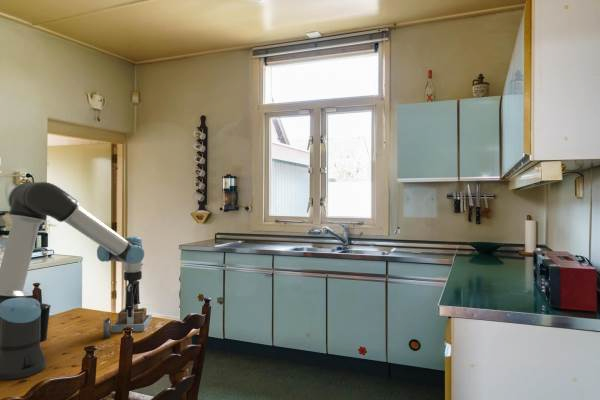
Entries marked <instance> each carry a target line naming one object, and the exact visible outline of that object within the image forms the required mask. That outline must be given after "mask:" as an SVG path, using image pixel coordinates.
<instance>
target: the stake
mask: <svg viewBox="0 0 600 400" xmlns="http://www.w3.org/2000/svg"><path fill="white" fill-rule="evenodd" d="M102 322H103V323H102V333H103V334H102V339H104V340H108V339H111V338H112V337H111V336H112V335H111V334H112V332H111V322H112V321H111V319H110V317H109V316H108V317H105V318H104V319H103V321H102Z"/></svg>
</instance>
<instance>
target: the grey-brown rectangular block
mask: <svg viewBox="0 0 600 400" xmlns="http://www.w3.org/2000/svg"><path fill="white" fill-rule="evenodd" d="M146 315H147V308H146V307H140V308H138V309H134V324H143V323H144V321H145V320H146ZM117 317H118V318H117V320H118V325H122V324H127V310H125V308H123V309H121V310H120V311H118V313H117Z"/></svg>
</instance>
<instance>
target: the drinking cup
mask: <svg viewBox="0 0 600 400" xmlns="http://www.w3.org/2000/svg"><path fill="white" fill-rule="evenodd" d="M38 301H39V303H40V309H41V317H40V343H41V342H45V341H47V335H48V331H49V330H48V327H49V320H50V309H51V307H52V306H51V304H49V303H42V291H41V290H39V291H38Z"/></svg>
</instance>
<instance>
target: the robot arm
mask: <svg viewBox="0 0 600 400" xmlns="http://www.w3.org/2000/svg"><path fill="white" fill-rule="evenodd" d="M7 199H8V200H7V201H8V205H9V206H10V209H9V214H8V216H9V218H10V219H11V222H12V223H11V225H10V230H9V231H8V236H7V239H6V243H5V247H4V252H3V255H2V258H1V262H0V381H8V380H17V379H22V378H27V377H30V376H33V375H36V374H38V373H41V372H42V371H43V370H45V368H46V366H47V359H46V356H45V354H44V351H43V349H42V346H41V342H40V317H41V309H40V303H39V300H37V299H36V298H33V297H28V295H27V293H26V292H25V291H24V288H25V284H26V280H27V276H28V273H29V272H28V271H29V268H30V264H31V260H32V256H33V254H34V253H33V252H34V249H35V245H36V241H37V237H38V233H39V229H40V226H41V224H43V223H45V222H46V221H47V216H48V217H50V218H53V219H55V220H56V221H58V222H60V223H62V222H64V223H66V224H68V225H69V226H71V227H72V228H73V229H75V230H77V231H78V232H79V233H81V234H82V235H84V236H86V237H87V238H88V239H90V240H92V241H93V242H94V243H96V244H97V245H98V247H97V249H96V256H97V258H98V260H99V261H100V262H118V263H123V271H124V272H123V280H124V281H127V282H128V283H127V285H126V287H125V292H126V293H125V295H126V296H125V308H124V309H125V310H127V324H134V309H139V305H140V304H141V301H140V281H139V280H142V279H143V278H142V277H143V276H142V275H143V273H142V272H143V271H142V269H143V268H142V266H143V265H144V264H143V262H142V261H143V260H144V258H145V250H144V248H143V240H142V237H140V236H125V237H123V236H122V235H121V234H119V233H117V232H116V231H115V230H113V229H112V228H111V227H109V225H107V224H105V223H104V222H102V221H101V220H100V219H98V218H97V217H96V216H94V215H93V214H91V213H90V212H88V210H86V209H85V208H83V207H82V206H80V203H79V201H78V200H77V199H76V198H74V197H73V196H72V195H70V194H69V193H67V191H65V190H63V189H62V188H60V187H59V186H57V185H55V184H53V183H50V182H47V181H38V182H33V181H31V182H30V181H29V182H28V181H27V182H24V183H21V184H18V185H17V186H15V187H13V189H11V191H10V192H9V193H8V198H7Z"/></svg>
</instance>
